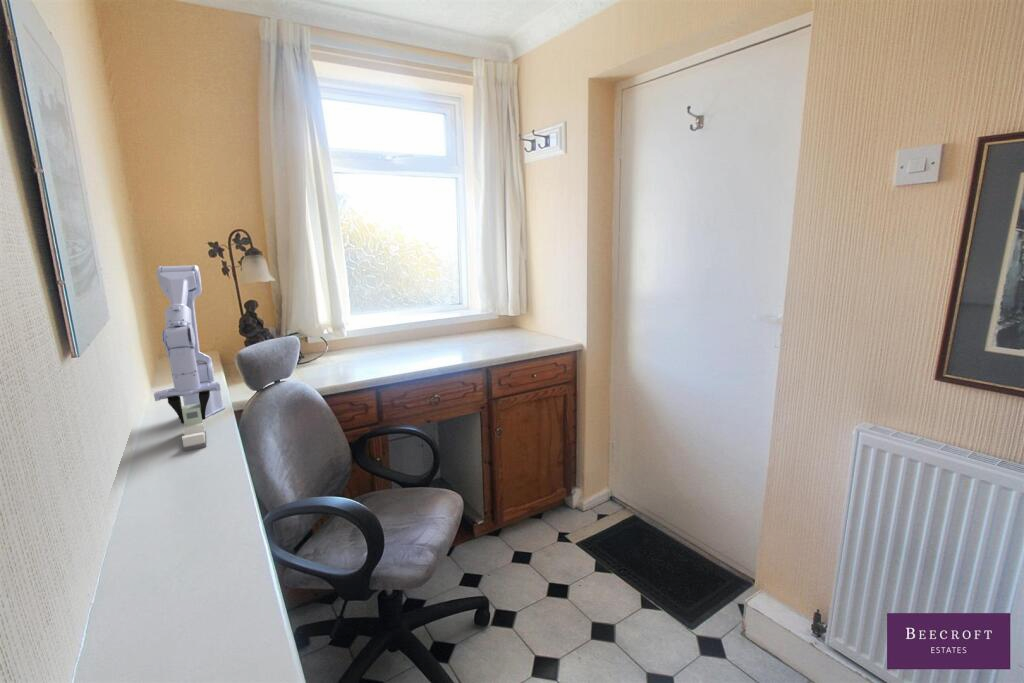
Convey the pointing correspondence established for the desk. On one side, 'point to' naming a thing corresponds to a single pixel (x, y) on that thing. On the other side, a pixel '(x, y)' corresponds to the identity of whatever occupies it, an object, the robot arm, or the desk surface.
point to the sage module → (192, 414)
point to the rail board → (194, 437)
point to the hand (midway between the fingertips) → (193, 420)
